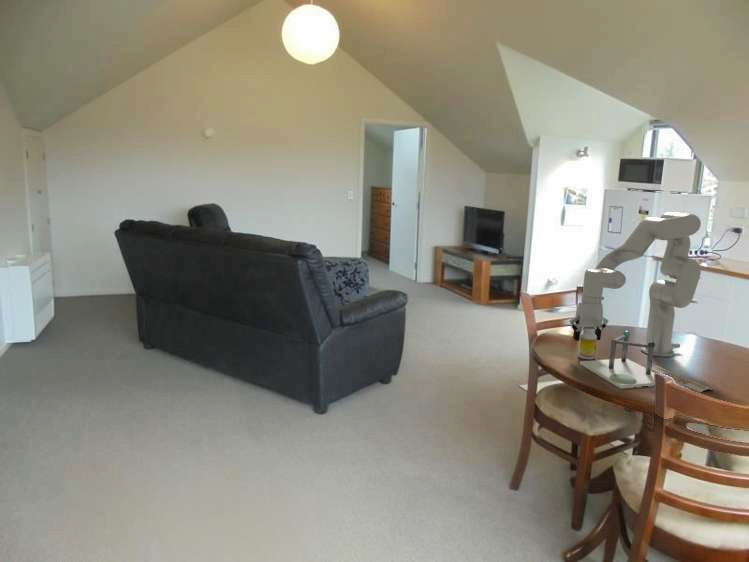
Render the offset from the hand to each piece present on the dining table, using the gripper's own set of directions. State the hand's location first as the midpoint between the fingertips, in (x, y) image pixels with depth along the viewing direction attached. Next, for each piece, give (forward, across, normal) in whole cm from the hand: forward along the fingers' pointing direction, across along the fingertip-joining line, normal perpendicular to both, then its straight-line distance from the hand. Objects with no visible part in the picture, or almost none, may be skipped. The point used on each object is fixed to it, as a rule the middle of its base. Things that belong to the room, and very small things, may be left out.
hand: (586, 339), depth 218 cm
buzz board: (+8, -4, +20) cm, 21 cm away
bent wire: (+6, -6, +17) cm, 19 cm away
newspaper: (+8, -20, +28) cm, 36 cm away
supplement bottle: (+8, -1, 0) cm, 8 cm away
